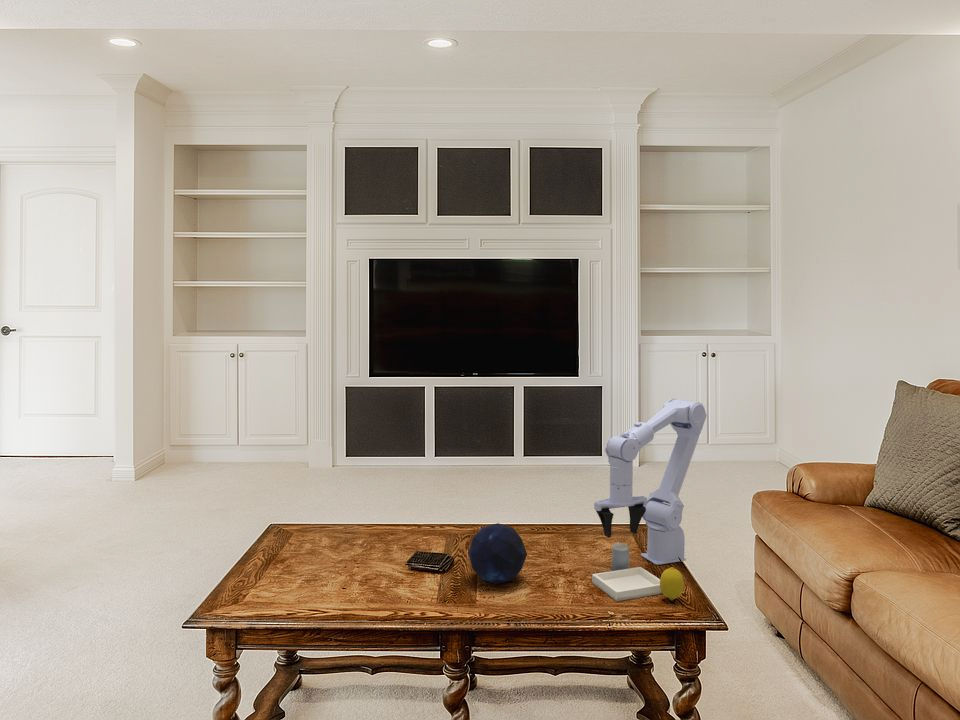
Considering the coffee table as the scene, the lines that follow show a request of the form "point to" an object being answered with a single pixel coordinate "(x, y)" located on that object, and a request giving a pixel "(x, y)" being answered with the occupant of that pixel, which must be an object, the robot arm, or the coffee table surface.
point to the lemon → (671, 583)
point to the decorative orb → (497, 553)
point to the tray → (627, 583)
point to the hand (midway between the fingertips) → (620, 534)
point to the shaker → (620, 556)
